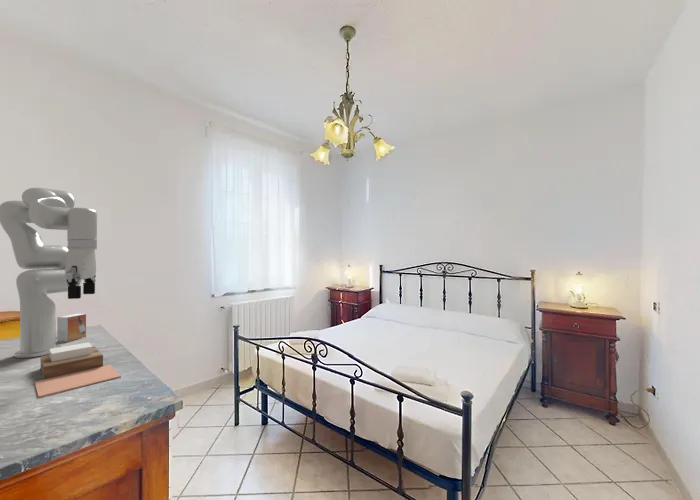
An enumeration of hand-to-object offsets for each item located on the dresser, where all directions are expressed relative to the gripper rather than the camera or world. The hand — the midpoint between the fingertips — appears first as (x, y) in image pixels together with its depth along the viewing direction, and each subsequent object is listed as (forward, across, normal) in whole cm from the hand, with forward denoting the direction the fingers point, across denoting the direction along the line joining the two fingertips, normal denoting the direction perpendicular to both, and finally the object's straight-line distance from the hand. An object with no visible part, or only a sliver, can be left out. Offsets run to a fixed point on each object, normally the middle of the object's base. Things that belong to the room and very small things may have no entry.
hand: (82, 296), depth 105 cm
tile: (+18, 0, -3) cm, 19 cm away
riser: (+24, +1, -2) cm, 24 cm away
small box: (+25, -40, -20) cm, 51 cm away
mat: (+23, +13, +5) cm, 27 cm away
